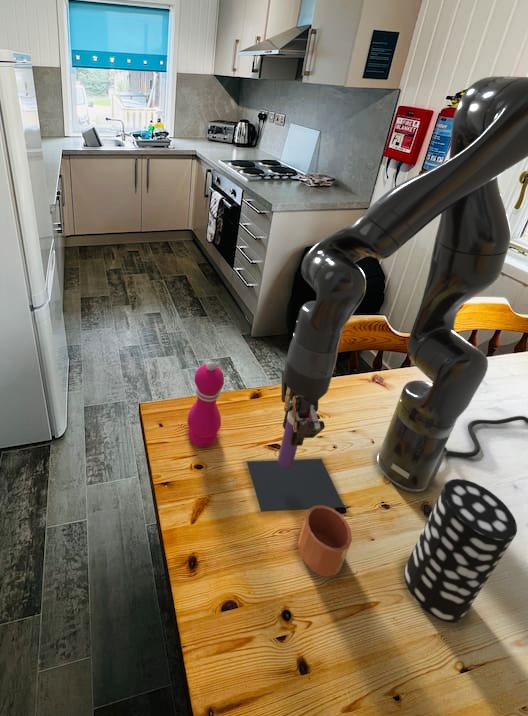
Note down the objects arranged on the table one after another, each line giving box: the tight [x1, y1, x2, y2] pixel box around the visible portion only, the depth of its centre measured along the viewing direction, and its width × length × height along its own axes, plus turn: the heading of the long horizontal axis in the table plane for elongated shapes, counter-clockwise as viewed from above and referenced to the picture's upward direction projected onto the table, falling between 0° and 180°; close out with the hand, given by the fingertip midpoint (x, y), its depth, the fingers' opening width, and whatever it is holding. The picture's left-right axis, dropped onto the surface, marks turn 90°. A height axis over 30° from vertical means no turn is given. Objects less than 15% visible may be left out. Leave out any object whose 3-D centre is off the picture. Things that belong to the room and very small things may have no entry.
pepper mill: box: [186, 361, 225, 448], centre depth 83 cm, size 7×7×20 cm
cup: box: [297, 505, 353, 577], centre depth 65 cm, size 7×7×7 cm
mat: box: [246, 458, 345, 512], centre depth 77 cm, size 16×10×1 cm, turn 95°
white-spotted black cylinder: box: [403, 478, 518, 624], centre depth 58 cm, size 8×8×20 cm
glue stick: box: [277, 410, 304, 469], centre depth 73 cm, size 3×3×12 cm
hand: (291, 435), depth 73 cm, fingers closed on glue stick, 3 cm apart
